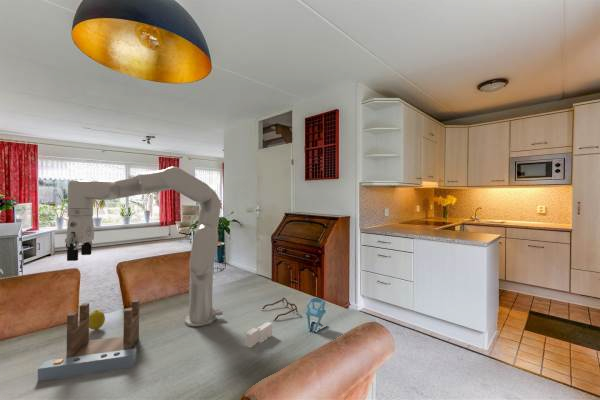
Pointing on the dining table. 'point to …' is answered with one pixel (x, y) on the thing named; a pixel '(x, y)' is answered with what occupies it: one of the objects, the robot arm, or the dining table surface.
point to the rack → (83, 346)
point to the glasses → (287, 305)
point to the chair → (315, 311)
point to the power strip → (86, 364)
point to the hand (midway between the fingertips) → (79, 257)
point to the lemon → (96, 319)
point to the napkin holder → (258, 334)
